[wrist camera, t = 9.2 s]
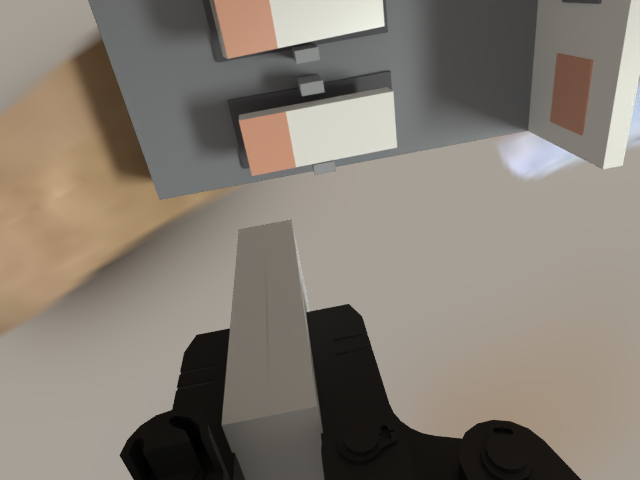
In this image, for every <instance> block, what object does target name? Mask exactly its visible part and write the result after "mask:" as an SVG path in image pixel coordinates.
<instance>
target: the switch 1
mask: <svg viewBox="0 0 640 480" xmlns="http://www.w3.org/2000/svg"><path fill="white" fill-rule="evenodd" d="M210 4H211V9H212V13H213V17H214V21H215V25H216V29H217V34H218V38H219V42H220V46H221V50H222V54H223V57H225V58H227V59H230V58H234V57H239V56H244V55H249V54H254V53H259V52H263V51H268V50H273V49H278V48H282V47H287V46H292V45H297V44H301V43H306V42H311V41H316V40H321V39H326V38H330V37H335V36H340V35H345V34H350V33H354V32H359V31H364V30H369V29H374V28H378V27H383V26H385V24H384V10H383V0H210Z"/></svg>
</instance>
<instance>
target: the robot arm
mask: <svg viewBox="0 0 640 480" xmlns="http://www.w3.org/2000/svg"><path fill="white" fill-rule="evenodd" d="M180 372H181V375H180V376H179V381H178V385H177V388H178V390H177V391H176V395H175V399H174V404H173V409H172V410H171V411H168V412H165V413H162V414H159V415H156V416H155V417H153V418H152V419H150V420H149V421H147V422H145V423H144V424H142V425H141V426H140V427H139V428H138V429H137V430H136V431H135V432H134V433H133V434H132V436H131V437H130V438H129V439H128V440H127V442H126V444H125V446H124V448H123V450H122V452H121V454H120V457H121V458H122V460H123V462H124V464H125V465H126V467H127V469H128V470H129V472H130V474H131V476H132V477H133V479H134V480H581V479H580V478H579V477H578V476H577V475H576V474H575V473H574V472H573V471H572V470H571V468H570V467H569V466H568V465H566V463H565V462H564V461H563V460H562V459H561V458H560V457H559V456H558V455H557V454H556V453H555V452H554V451H553V450H552V449H551V447H550V446H548V444H547V443H546V442H545V441H544V440H543V439H541V438H540V437H539V436H537V435H536V434H535V433H533V432H532V431H531V430H529V429H528V428H526V427H523V426H521V425H518V424H516V423H513V422H510V421H499V420H491V421H487V422H483V423H478V424H476V425H475V426H474V427H472V428H471V429H470V430H468V431H467V432H465V434H464V437H463V439H460V438H450V437H441V436H433V435H428V434H423V433H420V432H418V431H416V430H414V429H411V428H409V427H408V426H407V425H405V424H404V423H402V422H401V421H400V420H399V419H398V417H397V416H396V415H395V414H394V413H393V411H392V409H391V406H390V404H389V401H388V398H387V395H386V392H385V389H384V385H383V382H382V379H381V376H380V373H379V369H378V366H377V363H376V360H375V356H374V354H373V351H372V347H371V344H370V341H369V337H368V335H367V331H366V328H365V325H364V321H363V318H362V316H361V315H360V314H359V313H358V312H357V311H356V310H354V309H353V308H352V307H351V306H350V305H349V304H347V305H341V306H336V307H332V308H326V309H321V310H316V311H310V310H309V305H308V298H307V292H306V288H305V283H304V278H303V273H302V268H301V263H300V258H299V253H298V248H297V244H296V239H295V234H294V229H293V224H292V220H287V221H282V222H276V223H271V224H266V225H260V226H255V227H250V228H244V229H239V234H238V245H237V257H236V268H235V280H234V290H233V301H232V312H231V324H230V329H225V330H220V331H215V332H210V333H204V334H199V335H196V337H195V338H194V339H193V341H192V342H191V344H190V345H189V347H188V348H187V350H186V351H185V352H184V356H183V362H182V366H181V371H180Z"/></svg>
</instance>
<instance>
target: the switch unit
mask: <svg viewBox="0 0 640 480" xmlns="http://www.w3.org/2000/svg"><path fill="white" fill-rule="evenodd" d="M88 1H89V3H90V6H91V9H92V12H93V15H94V17H95V20H96V23H97V26H98V29H99V31H100V34H101V37H102V40H103V43H104V46H105V48H106V51H107V54H108V57H109V60H110V62H111V65H112V68H113V71H114V74H115V76H116V79H117V82H118V85H119V88H120V90H121V93H122V96H123V99H124V102H125V104H126V107H127V110H128V113H129V116H130V118H131V121H132V124H133V127H134V130H135V132H136V135H137V138H138V141H139V144H140V146H141V149H142V152H143V155H144V158H145V160H146V163H147V166H148V169H149V172H150V174H151V177H152V180H153V183H154V186H155V188H156V191H157V194H158V197H159V200H162V199H167V198H172V197H177V196H183V195H188V194H193V193H199V192H204V191H209V190H215V189H220V188H225V187H231V186H236V185H241V184H247V183H252V182H257V181H263V180H268V179H273V178H279V177H284V176H289V175H295V174H300V173H305V172H311V171H314V173H315V175H318V174H323V173H329V172H334V171H336V170H335V167H337V166H342V165H348V164H353V163H358V162H364V161H369V160H374V159H380V158H385V157H391V156H396V155H401V154H407V153H411V152H417V151H423V150H428V149H433V148H439V147H444V146H449V145H455V144H460V143H465V142H470V141H476V140H481V139H487V138H492V137H497V136H503V135H508V134H513V133H519V132H524V131H530V132H532V133H534V134H535V135H537V136H539V137H541V138H543V139H545V140H547V141H549V142H551V143H553V144H555V145H557V146H559V147H561V148H563V149H565V150H566V151H568V152H570V153H572V154H574V155H576V156H578V157H580V158H582V159H584V160H586V161H588V162H590V163H592V164H594V165H596V166H598V167H599V168H602V169H607V168H612V167H617V166H622V165H623V160H624V156H625V150H626V145H627V140H628V134H629V129H630V124H631V119H632V113H633V108H634V103H635V97H636V92H637V87H638V81H639V76H640V0H383V10H384V24H385V26H383V27H378V28H374V29H369V30H364V31H359V32H354V33H350V34H345V35H340V36H335V37H330V38H326V39H321V40H316V41H311V42H306V43H301V44H297V45H292V46H287V47H282V48H278V49H273V50H268V51H263V52H259V53H254V54H249V55H244V56H239V57H234V58H230V59H227V58H225V57H223V54H222V50H221V46H220V42H219V38H218V34H217V29H216V25H215V21H214V17H213V13H212V9H211V4H210V0H88ZM385 87H388V88H389V89H391V90H392V91H393V94H394V108H395V123H396V137H397V148H393V149H387V150H382V151H377V152H372V153H367V154H362V155H357V156H352V157H346V158H341V159H336V160H331V161H326V162H321V163H316V164H311V165H305V166H300V167H296V168H291V169H286V170H280V171H275V172H270V173H265V174H260V175H255V176H252V174H251V170H250V166H249V162H248V157H247V153H246V149H245V145H244V141H243V136H242V132H241V128H240V124H239V115H241V114H246V113H251V112H257V111H262V110H267V109H273V108H278V107H283V106H289V105H294V104H300V103H305V102H310V101H316V100H321V99H326V98H332V97H337V96H342V95H348V94H353V93H358V92H364V91H369V90H374V89H380V88H385Z"/></svg>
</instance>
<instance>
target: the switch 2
mask: <svg viewBox="0 0 640 480" xmlns="http://www.w3.org/2000/svg"><path fill="white" fill-rule="evenodd" d="M239 124H240V128H241V132H242V136H243V141H244V145H245V149H246V153H247V157H248V162H249V166H250V170H251V174H252V176H255V175H260V174H265V173H270V172H275V171H280V170H286V169H291V168H296V167H300V166H305V165H311V164H316V163H321V162H326V161H331V160H336V159H341V158H346V157H352V156H357V155H362V154H367V153H372V152H377V151H382V150H387V149H393V148H397V137H396V123H395V108H394V94H393V91H392V90H391V89H389V88H388V87H385V88H380V89H374V90H369V91H364V92H358V93H353V94H348V95H342V96H337V97H332V98H326V99H321V100H316V101H310V102H305V103H300V104H294V105H289V106H283V107H278V108H273V109H267V110H262V111H257V112H251V113H246V114H241V115H239Z"/></svg>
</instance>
